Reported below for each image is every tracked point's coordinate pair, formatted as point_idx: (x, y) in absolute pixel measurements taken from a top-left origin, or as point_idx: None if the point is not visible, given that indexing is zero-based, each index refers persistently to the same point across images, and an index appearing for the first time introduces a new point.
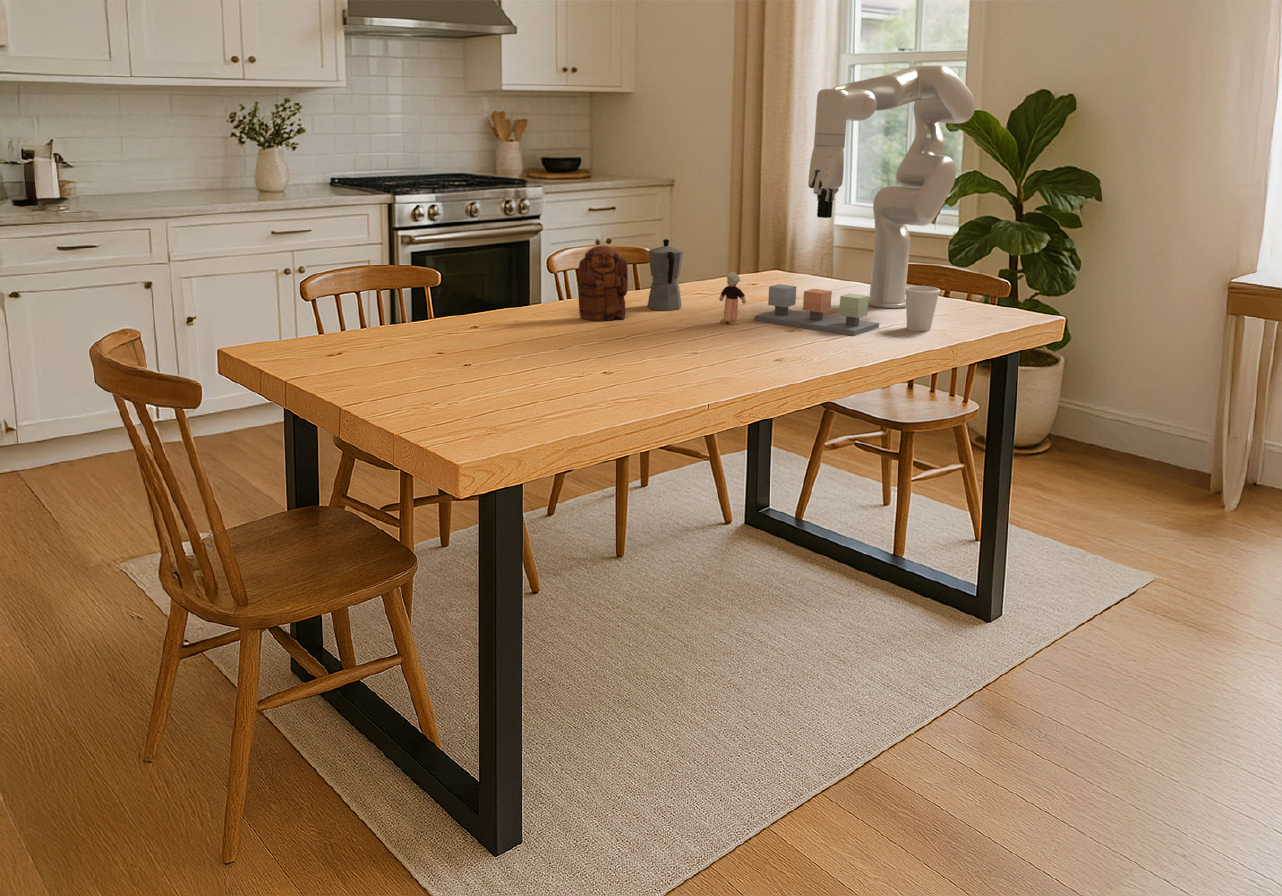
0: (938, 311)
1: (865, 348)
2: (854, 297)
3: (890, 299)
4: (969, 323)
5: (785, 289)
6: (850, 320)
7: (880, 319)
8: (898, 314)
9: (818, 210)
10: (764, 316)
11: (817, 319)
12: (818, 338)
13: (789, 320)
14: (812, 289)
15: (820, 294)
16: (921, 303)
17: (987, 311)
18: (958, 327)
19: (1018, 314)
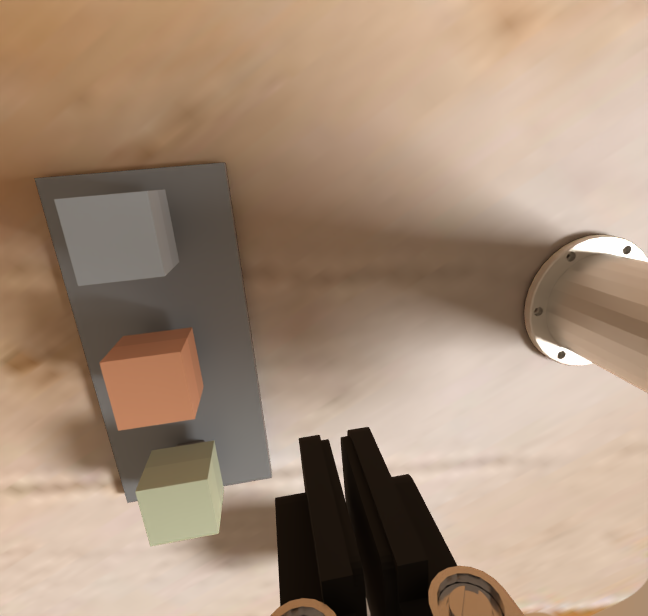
0: (572, 432)
1: (33, 583)
2: (152, 529)
3: (560, 341)
4: (476, 543)
5: (78, 280)
6: None
7: (374, 410)
8: (470, 398)
9: (308, 489)
10: (53, 216)
11: None
12: (17, 464)
13: (78, 313)
14: (160, 358)
15: (118, 423)
16: None
17: (637, 492)
18: None
19: (639, 541)
